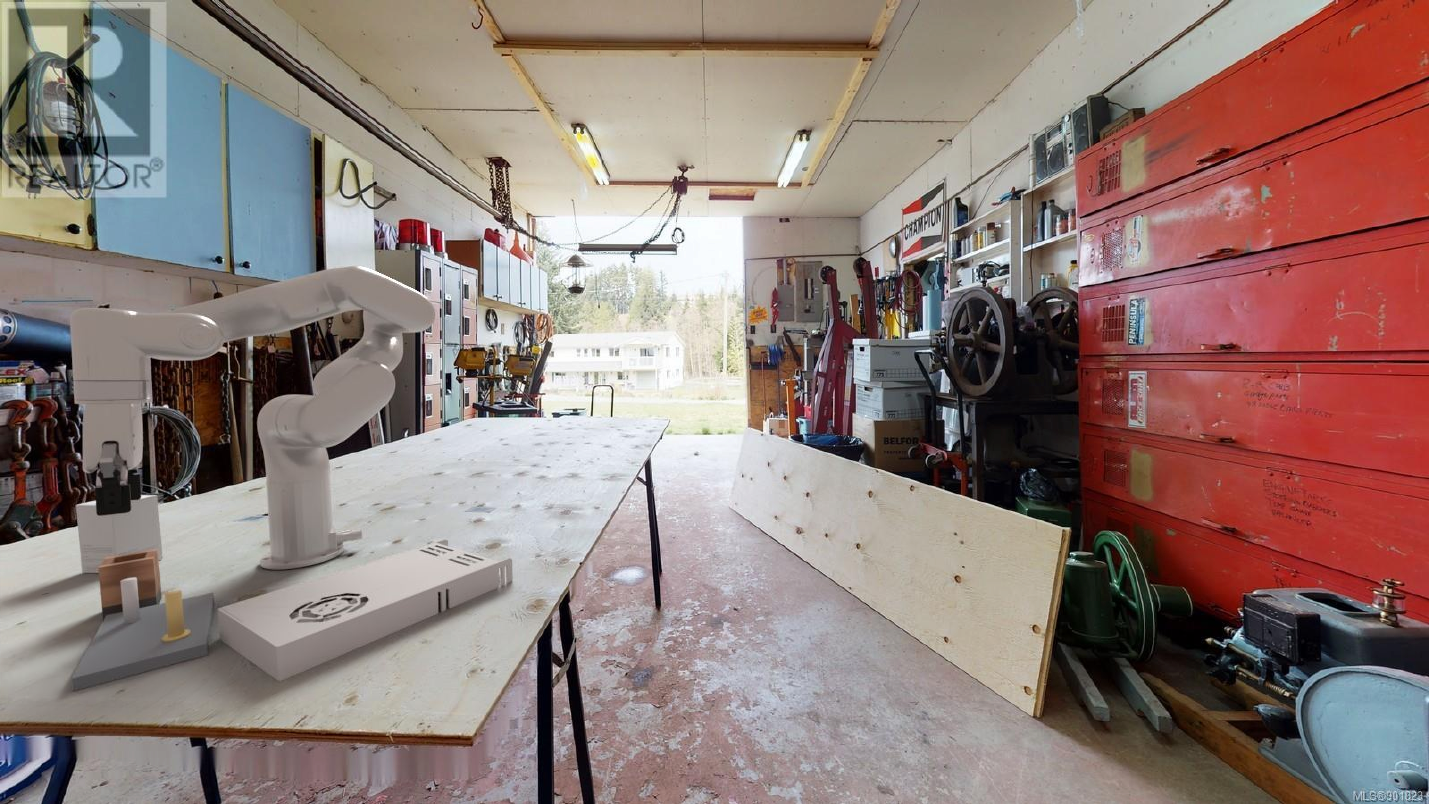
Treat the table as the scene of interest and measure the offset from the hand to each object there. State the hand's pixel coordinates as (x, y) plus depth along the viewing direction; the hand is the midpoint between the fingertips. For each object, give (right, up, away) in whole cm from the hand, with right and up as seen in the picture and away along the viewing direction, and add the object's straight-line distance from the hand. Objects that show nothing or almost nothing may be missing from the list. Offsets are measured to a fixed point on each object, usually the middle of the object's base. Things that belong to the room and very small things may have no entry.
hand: (120, 506), depth 77 cm
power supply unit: (+38, -17, +3) cm, 41 cm away
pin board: (+13, -17, -7) cm, 22 cm away
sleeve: (0, -16, +2) cm, 16 cm away
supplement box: (-20, -15, +18) cm, 31 cm away
